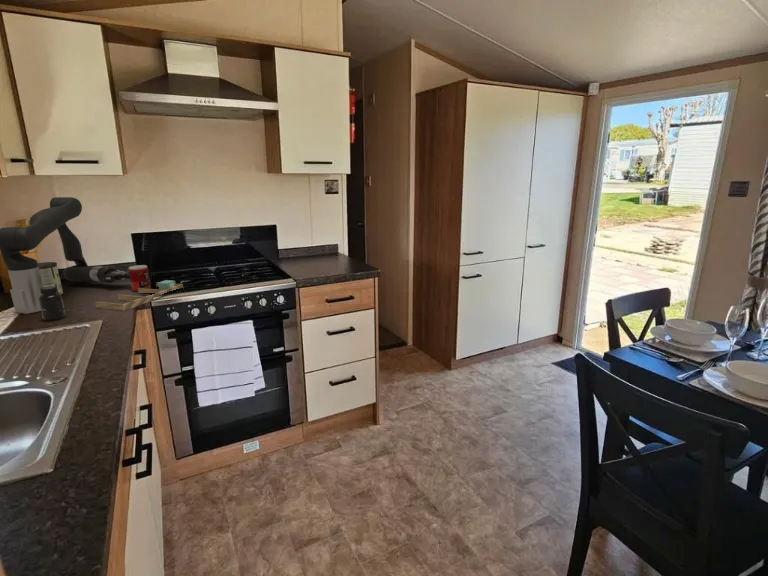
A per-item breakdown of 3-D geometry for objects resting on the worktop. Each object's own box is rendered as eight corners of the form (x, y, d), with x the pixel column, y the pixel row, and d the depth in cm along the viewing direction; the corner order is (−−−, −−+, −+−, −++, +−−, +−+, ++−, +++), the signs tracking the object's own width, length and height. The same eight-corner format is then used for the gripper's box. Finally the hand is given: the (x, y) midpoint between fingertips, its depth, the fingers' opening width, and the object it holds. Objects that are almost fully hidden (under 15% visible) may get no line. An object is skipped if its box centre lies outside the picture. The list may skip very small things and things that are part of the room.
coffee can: (33, 294, 189) (25, 264, 185) (61, 290, 196) (54, 260, 192) (36, 299, 182) (28, 268, 178) (65, 294, 189) (58, 264, 185)
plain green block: (168, 294, 189) (167, 283, 188) (159, 293, 190) (157, 282, 189) (176, 291, 194) (175, 280, 192) (167, 290, 195) (166, 280, 194)
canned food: (143, 292, 192) (139, 269, 189) (128, 291, 193) (123, 268, 190) (155, 287, 199) (151, 265, 196) (140, 287, 200) (136, 264, 197)
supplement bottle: (39, 322, 154) (32, 290, 151) (48, 316, 161) (41, 286, 157) (61, 320, 156) (54, 289, 153) (69, 314, 162) (62, 284, 159)
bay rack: (124, 310, 166) (123, 304, 166) (96, 307, 170) (95, 301, 169) (183, 289, 196) (182, 284, 196) (157, 287, 200) (157, 282, 199)
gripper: (89, 269, 193) (119, 271, 188) (114, 263, 205) (142, 265, 201) (92, 285, 195) (122, 287, 190) (116, 278, 207) (145, 280, 203)
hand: (132, 276), depth 195 cm, fingers closed
